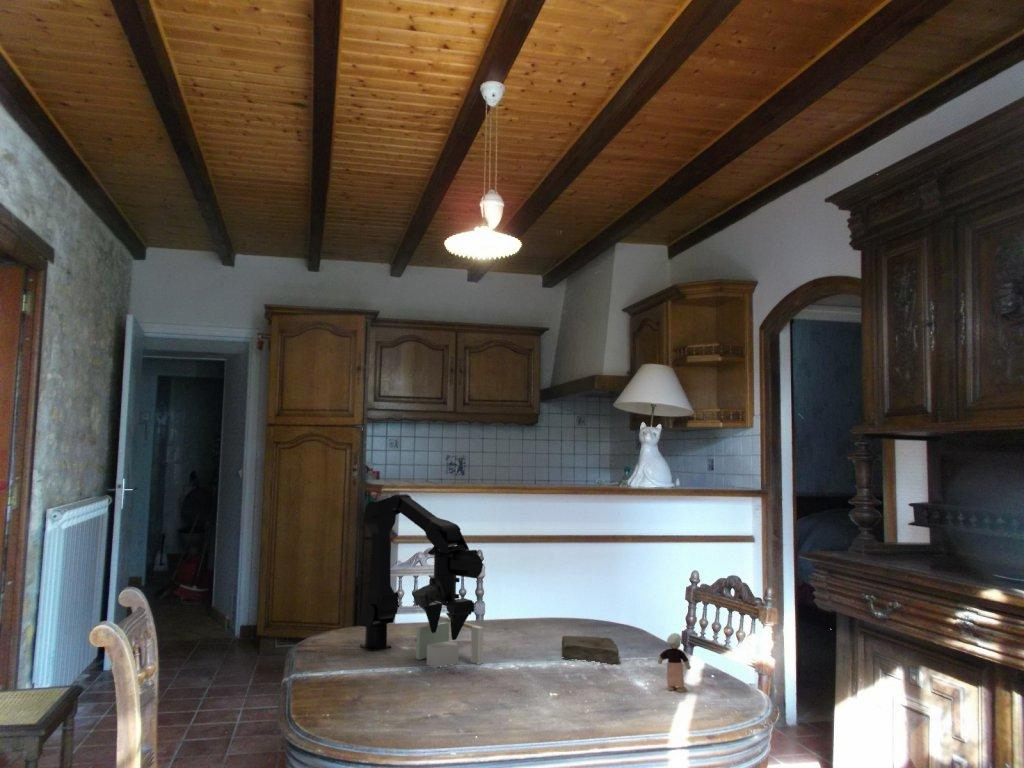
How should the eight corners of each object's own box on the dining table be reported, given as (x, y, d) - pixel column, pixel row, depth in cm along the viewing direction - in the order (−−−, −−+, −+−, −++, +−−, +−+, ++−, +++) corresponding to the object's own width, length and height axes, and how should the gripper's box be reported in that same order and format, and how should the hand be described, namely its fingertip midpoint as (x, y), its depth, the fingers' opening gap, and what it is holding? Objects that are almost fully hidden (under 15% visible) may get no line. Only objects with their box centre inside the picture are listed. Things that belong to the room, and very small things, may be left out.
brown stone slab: (619, 666, 204) (619, 649, 204) (561, 664, 205) (561, 648, 205) (614, 649, 221) (614, 634, 221) (561, 648, 221) (561, 633, 222)
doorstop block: (426, 665, 201) (427, 644, 202) (449, 660, 206) (449, 641, 206) (435, 668, 198) (435, 648, 198) (458, 664, 202) (458, 644, 203)
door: (441, 650, 214) (442, 621, 215) (448, 652, 212) (448, 622, 213) (412, 657, 207) (413, 627, 207) (419, 659, 205) (419, 628, 206)
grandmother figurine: (692, 688, 184) (692, 632, 185) (690, 693, 181) (690, 636, 182) (658, 685, 187) (658, 629, 188) (656, 689, 183) (656, 633, 184)
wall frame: (438, 649, 216) (438, 616, 217) (442, 649, 217) (443, 615, 217) (477, 664, 202) (478, 628, 203) (482, 663, 203) (483, 627, 204)
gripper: (398, 571, 206) (397, 633, 204) (439, 581, 191) (437, 648, 190) (434, 568, 213) (433, 627, 211) (476, 577, 198) (475, 641, 197)
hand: (443, 636), depth 202 cm, fingers open, 9 cm apart
